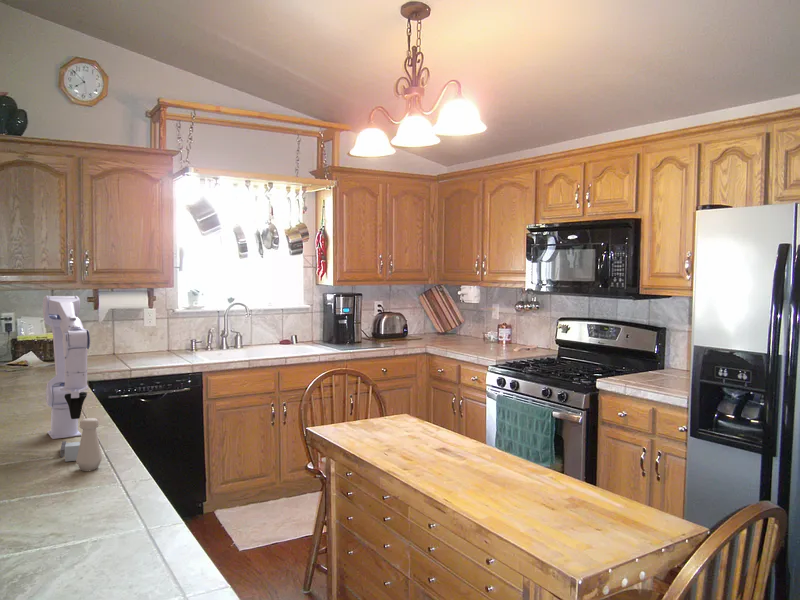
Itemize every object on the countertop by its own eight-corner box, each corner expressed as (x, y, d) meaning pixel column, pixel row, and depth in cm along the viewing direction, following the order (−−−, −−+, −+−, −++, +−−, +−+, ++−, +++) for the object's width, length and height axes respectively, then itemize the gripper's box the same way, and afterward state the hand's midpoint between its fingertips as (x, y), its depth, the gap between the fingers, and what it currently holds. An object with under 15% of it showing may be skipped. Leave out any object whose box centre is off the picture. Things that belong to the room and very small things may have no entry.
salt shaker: (95, 463, 159) (96, 415, 158) (105, 468, 155) (106, 418, 155) (72, 468, 154) (72, 418, 154) (82, 473, 151) (82, 422, 150)
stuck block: (65, 457, 163) (65, 442, 163) (82, 455, 164) (82, 441, 164) (65, 461, 159) (65, 446, 159) (81, 459, 161) (82, 445, 161)
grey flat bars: (62, 448, 172) (62, 441, 171) (88, 446, 175) (88, 439, 174) (60, 457, 164) (60, 449, 163) (87, 454, 167) (88, 447, 166)
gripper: (61, 368, 177) (61, 414, 177) (58, 376, 164) (58, 425, 165) (88, 367, 180) (87, 412, 181) (87, 375, 167) (87, 423, 168)
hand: (75, 418), depth 173 cm, fingers closed
